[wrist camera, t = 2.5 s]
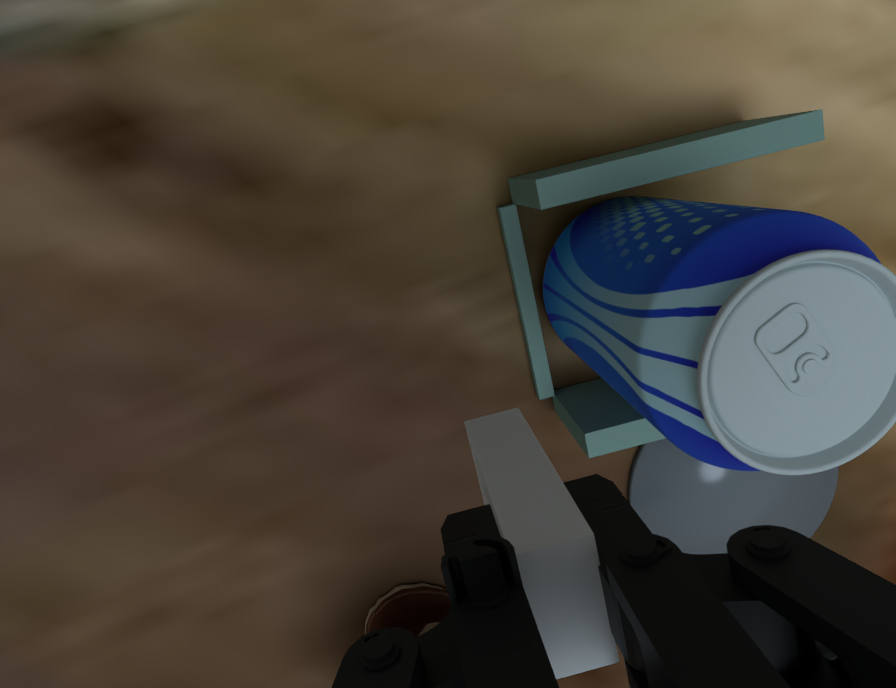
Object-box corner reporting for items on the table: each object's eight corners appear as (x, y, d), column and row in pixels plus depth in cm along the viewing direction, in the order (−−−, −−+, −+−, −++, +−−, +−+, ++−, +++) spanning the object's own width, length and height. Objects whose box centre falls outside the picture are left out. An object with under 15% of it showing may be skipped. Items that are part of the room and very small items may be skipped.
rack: (491, 182, 32) (516, 184, 26) (743, 120, 32) (822, 109, 27) (540, 415, 35) (571, 462, 30) (768, 356, 36) (843, 391, 30)
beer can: (703, 194, 33) (981, 212, 18) (689, 355, 35) (928, 496, 20) (538, 196, 32) (680, 218, 17) (534, 361, 35) (658, 513, 19)
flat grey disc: (611, 411, 36) (615, 415, 35) (822, 356, 36) (830, 359, 36) (644, 597, 39) (648, 603, 38) (838, 544, 39) (845, 550, 39)
